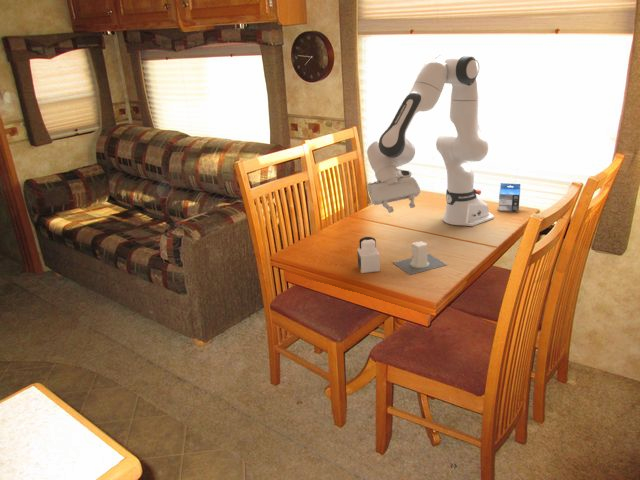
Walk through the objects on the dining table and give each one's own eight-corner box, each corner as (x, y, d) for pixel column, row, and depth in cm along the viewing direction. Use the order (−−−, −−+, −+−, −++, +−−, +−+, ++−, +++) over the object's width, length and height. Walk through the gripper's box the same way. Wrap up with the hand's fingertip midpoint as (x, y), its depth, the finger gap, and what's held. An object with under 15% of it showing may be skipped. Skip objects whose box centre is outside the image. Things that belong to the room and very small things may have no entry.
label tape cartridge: (498, 211, 244) (499, 185, 240) (498, 208, 248) (500, 183, 243) (518, 212, 241) (520, 186, 236) (518, 209, 244) (520, 183, 240)
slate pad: (429, 254, 205) (429, 253, 205) (447, 265, 195) (447, 264, 195) (393, 263, 200) (393, 262, 200) (409, 274, 190) (409, 274, 190)
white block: (421, 260, 200) (421, 241, 197) (427, 264, 196) (427, 244, 193) (412, 262, 199) (412, 243, 196) (418, 266, 195) (418, 246, 192)
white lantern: (357, 265, 200) (356, 236, 196) (376, 263, 201) (375, 234, 196) (360, 273, 194) (359, 243, 189) (380, 271, 194) (379, 241, 190)
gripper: (367, 179, 200) (380, 210, 195) (414, 170, 207) (428, 200, 202) (362, 187, 206) (375, 218, 201) (408, 178, 212) (421, 208, 207)
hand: (402, 209), depth 201 cm, fingers open, 8 cm apart
